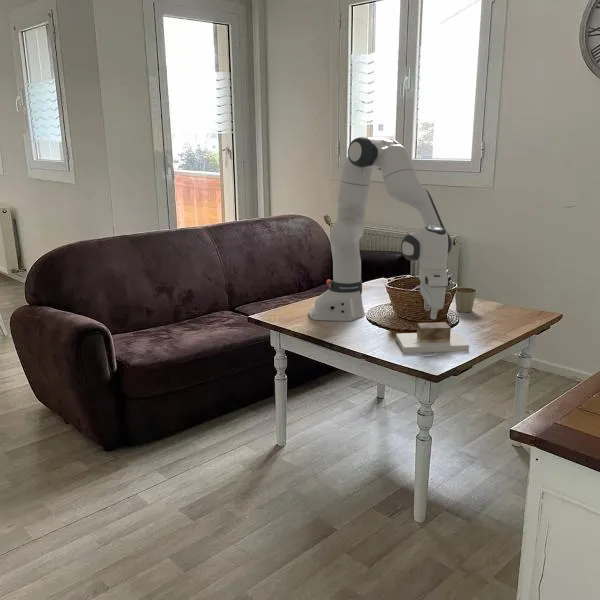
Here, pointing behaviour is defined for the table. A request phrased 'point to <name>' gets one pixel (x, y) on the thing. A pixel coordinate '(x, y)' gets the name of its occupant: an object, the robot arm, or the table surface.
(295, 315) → the table surface
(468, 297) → the flower pot
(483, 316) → the table surface
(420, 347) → the marked board
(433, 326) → the block
